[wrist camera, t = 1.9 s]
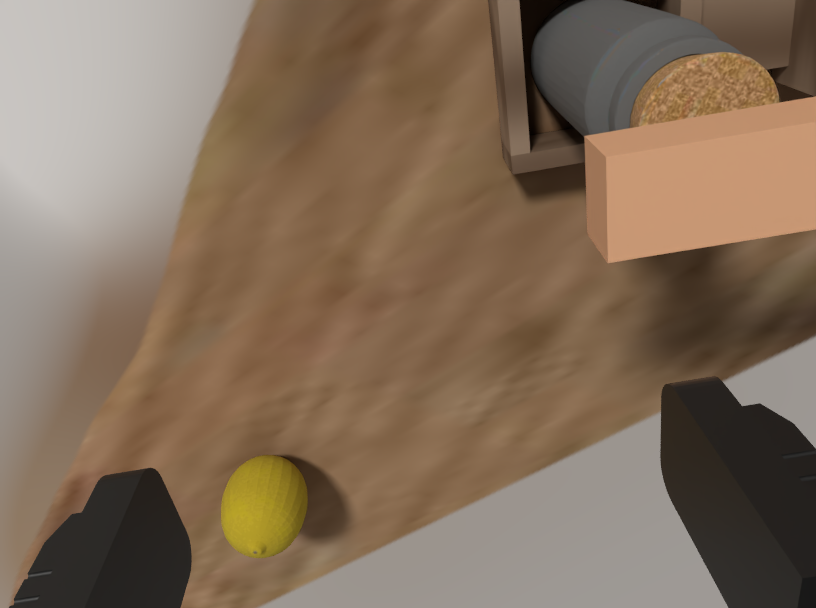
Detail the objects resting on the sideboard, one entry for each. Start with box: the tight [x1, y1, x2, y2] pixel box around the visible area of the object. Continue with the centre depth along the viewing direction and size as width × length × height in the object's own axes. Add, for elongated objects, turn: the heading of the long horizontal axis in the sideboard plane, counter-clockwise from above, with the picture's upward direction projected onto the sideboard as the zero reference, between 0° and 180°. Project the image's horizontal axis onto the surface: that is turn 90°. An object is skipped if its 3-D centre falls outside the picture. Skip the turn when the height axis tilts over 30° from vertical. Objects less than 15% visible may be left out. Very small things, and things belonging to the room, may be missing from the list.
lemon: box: [221, 455, 308, 558], centre depth 44 cm, size 6×6×8 cm
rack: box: [488, 0, 816, 174], centre depth 27 cm, size 10×21×18 cm, turn 99°
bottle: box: [530, 0, 780, 137], centre depth 29 cm, size 6×6×15 cm
